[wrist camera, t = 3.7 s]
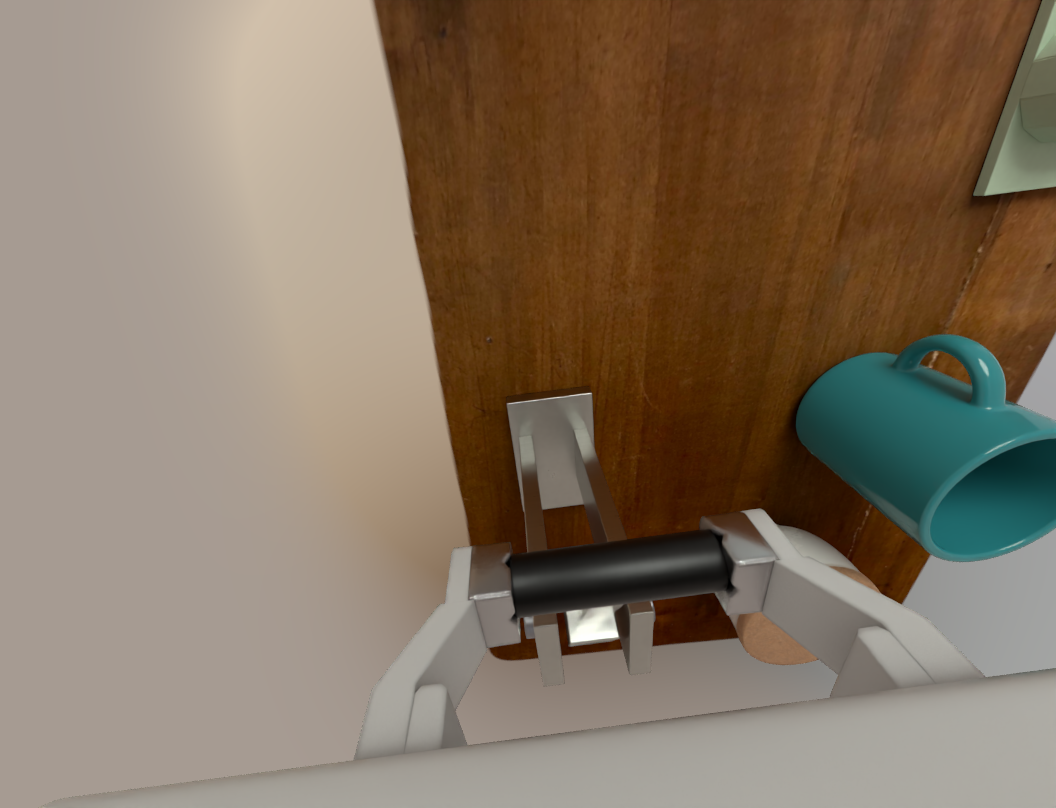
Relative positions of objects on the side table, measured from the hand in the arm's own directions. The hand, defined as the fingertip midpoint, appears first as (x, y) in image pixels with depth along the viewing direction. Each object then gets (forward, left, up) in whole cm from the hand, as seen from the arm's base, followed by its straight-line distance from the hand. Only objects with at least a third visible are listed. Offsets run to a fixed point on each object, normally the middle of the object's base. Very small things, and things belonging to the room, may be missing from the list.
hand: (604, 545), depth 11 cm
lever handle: (+4, 0, -3) cm, 5 cm away
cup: (+8, +23, -19) cm, 31 cm away
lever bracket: (+10, 0, -19) cm, 21 cm away
